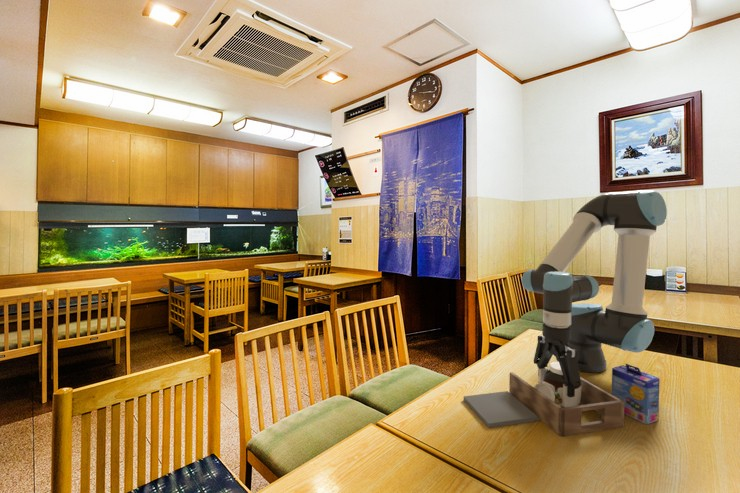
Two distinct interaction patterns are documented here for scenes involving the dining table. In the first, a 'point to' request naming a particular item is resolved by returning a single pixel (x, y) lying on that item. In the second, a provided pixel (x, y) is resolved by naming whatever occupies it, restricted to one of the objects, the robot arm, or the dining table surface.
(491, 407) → the slate board
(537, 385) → the spread jar
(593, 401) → the wooden tray frame
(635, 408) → the ink cartridge box
